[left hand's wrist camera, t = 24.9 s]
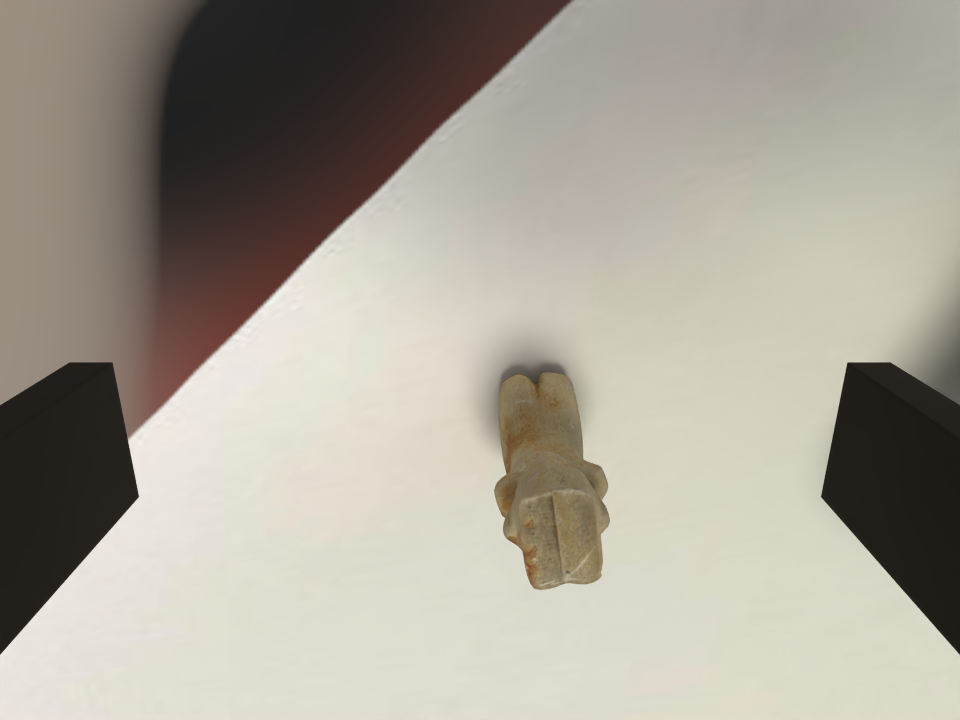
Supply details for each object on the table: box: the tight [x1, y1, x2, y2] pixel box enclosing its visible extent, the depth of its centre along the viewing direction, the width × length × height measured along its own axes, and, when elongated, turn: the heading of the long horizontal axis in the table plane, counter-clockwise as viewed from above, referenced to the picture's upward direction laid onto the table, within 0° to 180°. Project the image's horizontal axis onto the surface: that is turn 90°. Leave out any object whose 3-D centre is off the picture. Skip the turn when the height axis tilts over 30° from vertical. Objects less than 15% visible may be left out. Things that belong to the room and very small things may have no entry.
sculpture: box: [494, 372, 610, 590], centre depth 37 cm, size 6×7×15 cm
